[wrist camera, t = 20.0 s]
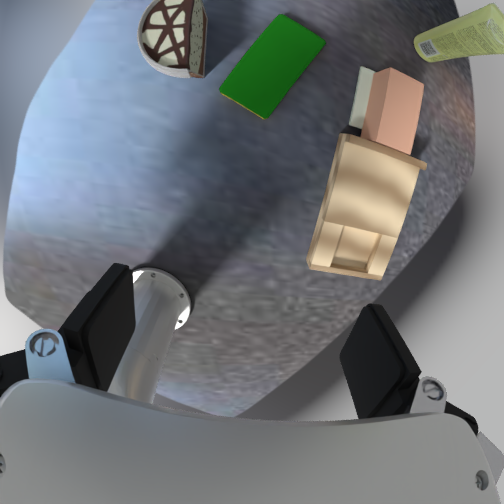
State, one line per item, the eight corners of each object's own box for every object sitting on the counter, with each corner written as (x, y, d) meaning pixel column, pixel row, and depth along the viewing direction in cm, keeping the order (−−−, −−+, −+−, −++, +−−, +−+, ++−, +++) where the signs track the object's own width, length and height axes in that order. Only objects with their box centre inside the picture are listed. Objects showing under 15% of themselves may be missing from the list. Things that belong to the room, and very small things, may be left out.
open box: (373, 270, 42) (384, 285, 38) (306, 259, 41) (311, 274, 37) (410, 158, 34) (427, 163, 30) (339, 133, 33) (350, 134, 29)
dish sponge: (219, 93, 31) (217, 90, 29) (278, 19, 26) (280, 12, 24) (265, 120, 33) (266, 120, 31) (323, 46, 28) (327, 41, 26)
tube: (434, 36, 24) (519, 14, 7) (443, 63, 26) (533, 55, 9) (408, 33, 25) (493, 2, 7) (418, 62, 27) (511, 46, 9)
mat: (402, 144, 33) (404, 145, 32) (348, 124, 32) (350, 125, 32) (413, 90, 29) (415, 90, 29) (359, 66, 28) (361, 66, 28)
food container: (164, 15, 25) (139, -13, 16) (208, 10, 25) (195, -23, 16) (158, 91, 30) (128, 81, 21) (204, 88, 30) (186, 74, 21)
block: (410, 154, 28) (424, 84, 24) (375, 141, 28) (390, 67, 23) (391, 150, 33) (404, 87, 29) (360, 138, 32) (373, 73, 28)
